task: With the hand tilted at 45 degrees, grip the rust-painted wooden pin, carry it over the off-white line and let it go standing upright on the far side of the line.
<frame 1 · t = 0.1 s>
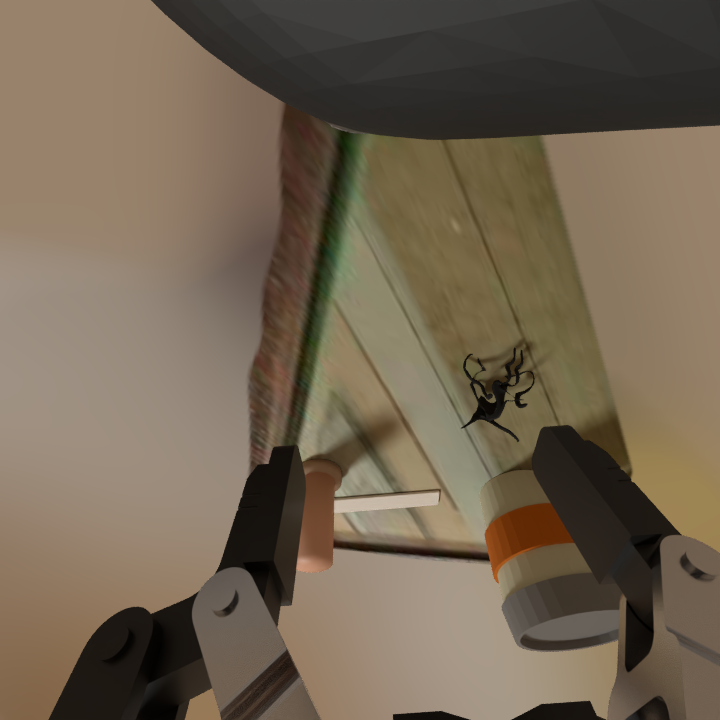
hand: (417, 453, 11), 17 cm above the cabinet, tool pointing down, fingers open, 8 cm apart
pin: (318, 473, 39), on the cabinet
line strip: (363, 502, 43), on the cabinet
creature: (491, 374, 32), on the cabinet
reusable coffee cup: (512, 489, 43), on the cabinet
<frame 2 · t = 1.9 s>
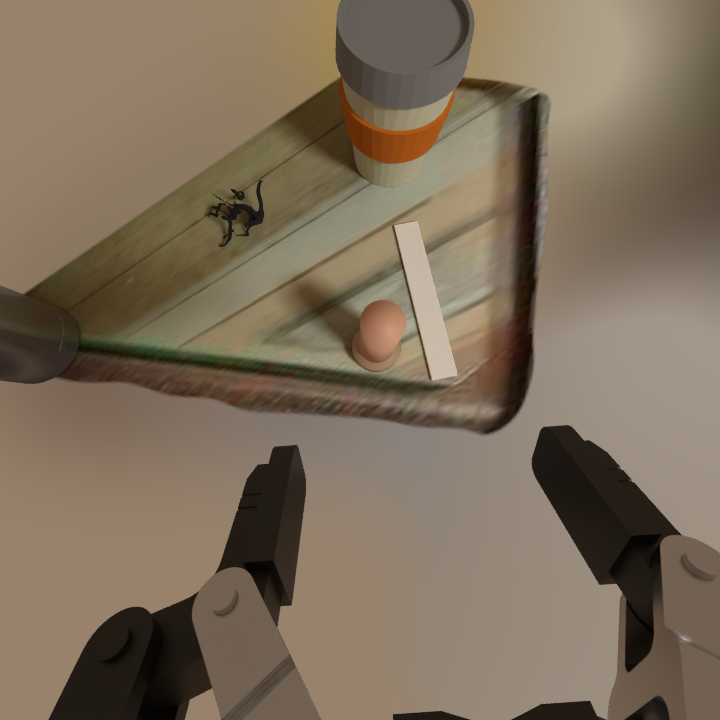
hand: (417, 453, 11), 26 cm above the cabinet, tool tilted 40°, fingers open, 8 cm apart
pin: (375, 348, 38), on the cabinet
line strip: (423, 297, 39), on the cabinet
creature: (239, 223, 41), on the cabinet
reusable coffee cup: (388, 159, 43), on the cabinet
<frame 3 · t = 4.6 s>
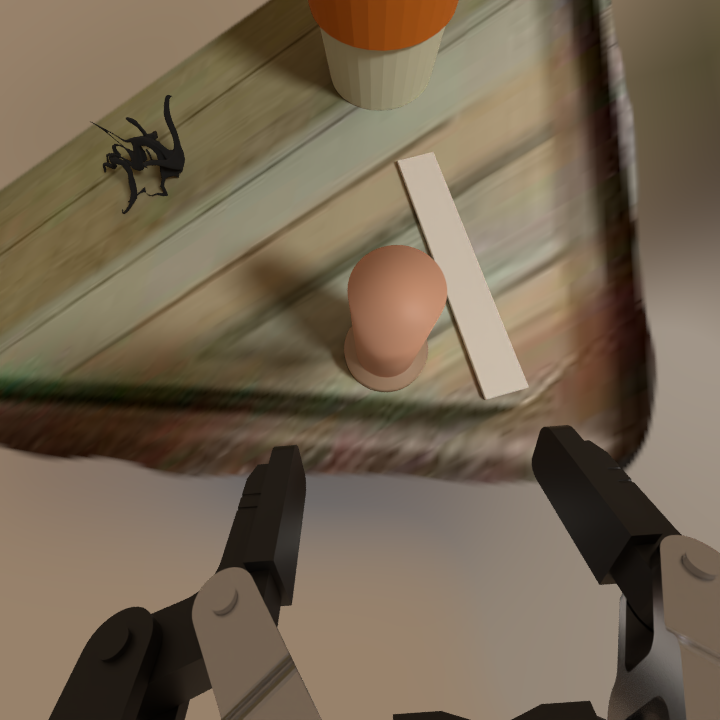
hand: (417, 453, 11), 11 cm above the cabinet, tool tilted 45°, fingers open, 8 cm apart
pin: (385, 352, 23), on the cabinet
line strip: (456, 265, 24), on the cabinet
creature: (155, 180, 27), on the cabinet
reusable coffee cup: (380, 73, 29), on the cabinet
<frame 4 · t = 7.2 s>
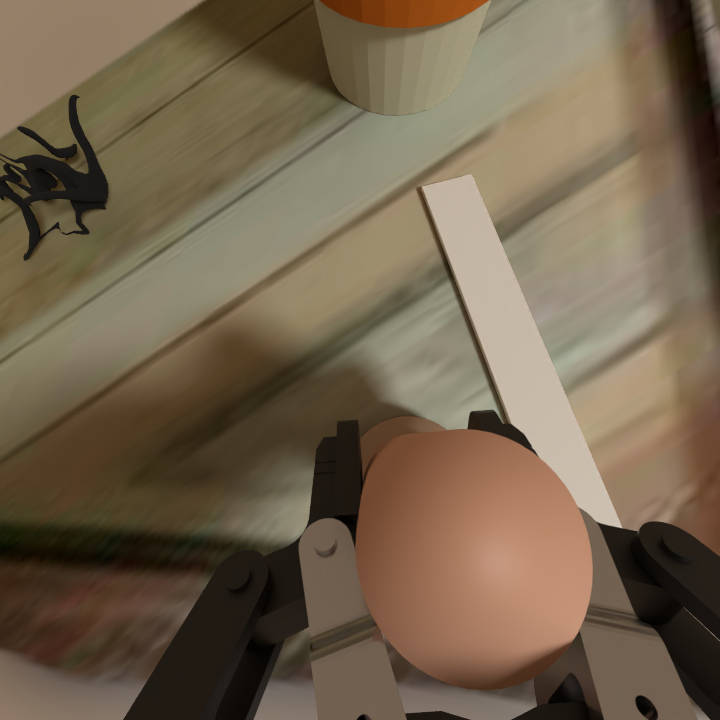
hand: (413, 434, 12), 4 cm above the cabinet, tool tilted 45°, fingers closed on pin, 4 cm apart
pin: (406, 477, 15), on the cabinet, touching gripper
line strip: (508, 341, 17), on the cabinet
creature: (75, 211, 20), on the cabinet
reusable coffee cup: (396, 65, 21), on the cabinet
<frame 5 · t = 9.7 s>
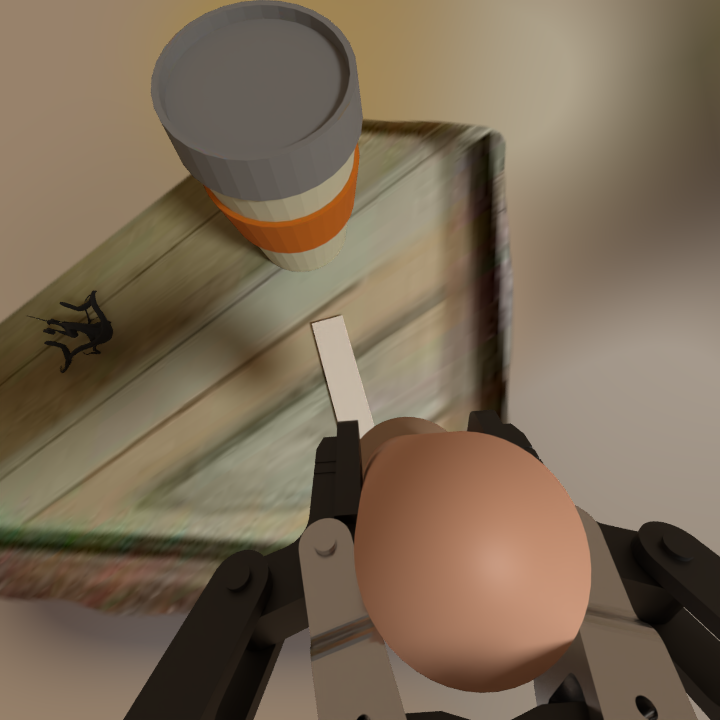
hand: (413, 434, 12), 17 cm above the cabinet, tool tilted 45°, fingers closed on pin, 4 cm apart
pin: (405, 478, 15), point 13 cm above the cabinet, touching gripper
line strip: (355, 422, 29), on the cabinet
creature: (91, 336, 31), on the cabinet
reusable coffee cup: (303, 233, 34), on the cabinet
when the fingers open (6 cm above the cabinet, at t = 12.6 s): pin drops 1 cm, on the cabinet.
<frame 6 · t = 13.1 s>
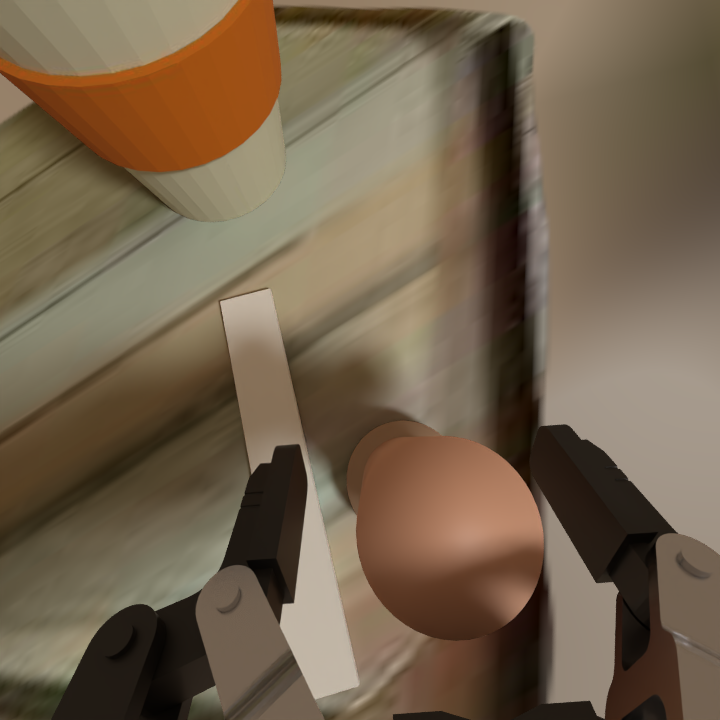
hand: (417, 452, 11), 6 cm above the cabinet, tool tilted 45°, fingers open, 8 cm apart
pin: (402, 476, 17), on the cabinet
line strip: (281, 466, 17), on the cabinet
reusable coffee cup: (221, 166, 22), on the cabinet
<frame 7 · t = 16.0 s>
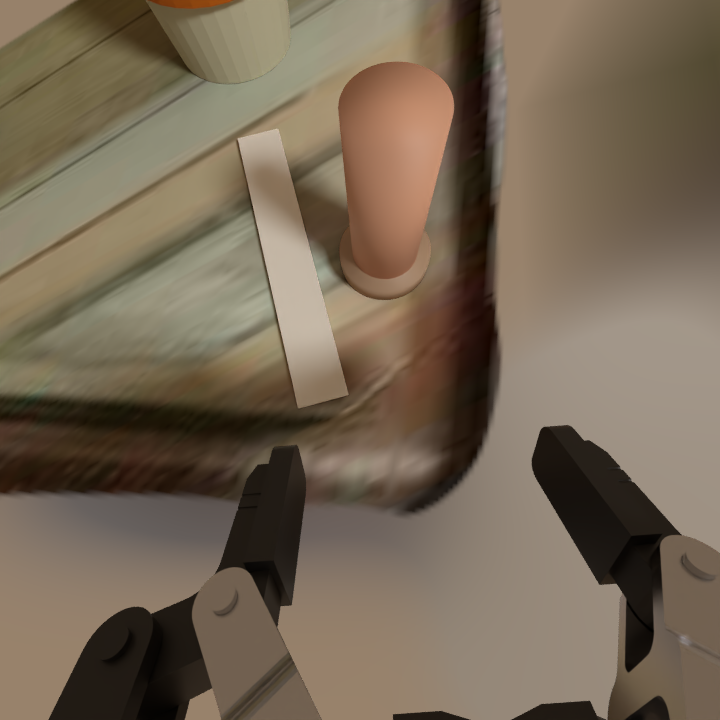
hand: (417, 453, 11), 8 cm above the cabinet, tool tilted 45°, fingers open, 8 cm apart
pin: (384, 259, 21), on the cabinet
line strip: (288, 254, 21), on the cabinet
reusable coffee cup: (236, 44, 26), on the cabinet
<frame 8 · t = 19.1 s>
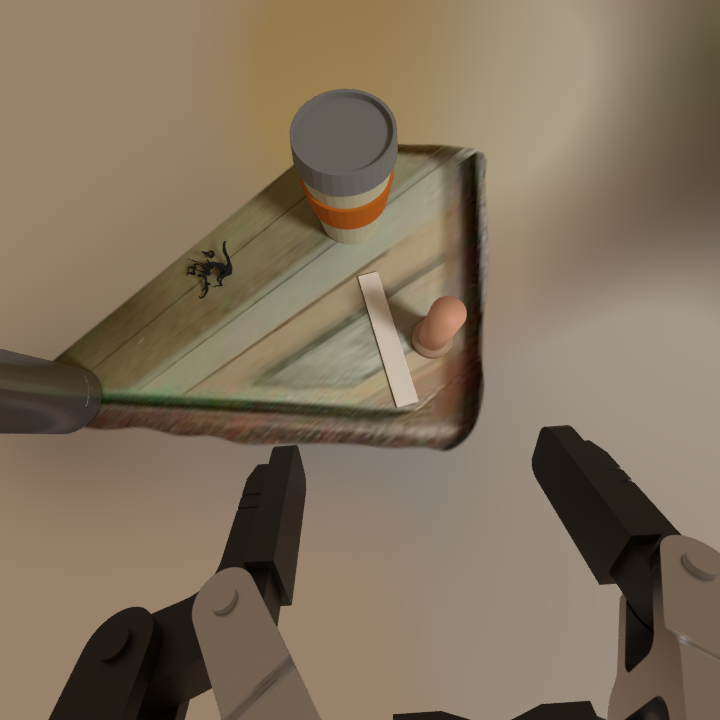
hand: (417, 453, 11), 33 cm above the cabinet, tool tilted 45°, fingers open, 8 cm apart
pin: (431, 339, 46), on the cabinet
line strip: (386, 336, 46), on the cabinet
creature: (214, 276, 49), on the cabinet
reusable coffee cup: (350, 219, 51), on the cabinet
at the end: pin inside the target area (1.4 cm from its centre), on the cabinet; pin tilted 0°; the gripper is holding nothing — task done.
